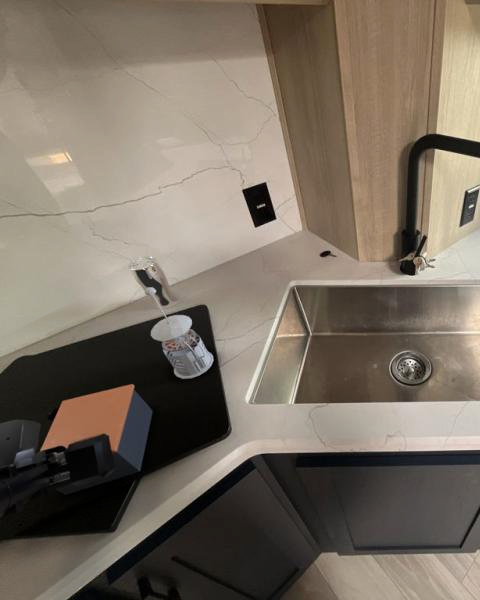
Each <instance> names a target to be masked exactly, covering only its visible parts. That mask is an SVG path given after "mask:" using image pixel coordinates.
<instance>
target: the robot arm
mask: <svg viewBox="0 0 480 600" xmlns="http://www.w3.org/2000/svg"><path fill="white" fill-rule="evenodd" d="M41 428H42V426H41V423H40V422H39V421H34V420H33V421H32V420H24V419H12V420H9V421H4V422H0V520H1V519H4V518H6V517H9V516H13V515H17V514H18V513H20V512H22V511H23V510H24V509H25V507H24V505H25V504H28V503H30V502H33V501H37V500H39V499H40V500H41V499H43V498H44V497H46V496H48V495H49V492H51V491H54V490H56V489H57V488H61V487H64V486H67V485H69V484H70V483H72V484H73V485H75V486H80V485H83V484H87V483H90V482H93V481H96V480H100V479H103V478H105V477H107V476H108V475H109V474H111V473H112V472H113V470H114V469H115V465H114V460H113V454H112V449H111V444H110V439H109V435H106V434H104V433H103V434H99V435H96V436H92V437H89V438H85V439H82V440H79V441H76V442H73V443H71V444H69V445H68V448H66V447H64V446H57V447H53V448H50V449H46V450H42V451H40V450H39V452H37V450H38V446H39V439H40V438H39V437H40V431H41Z"/></svg>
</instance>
